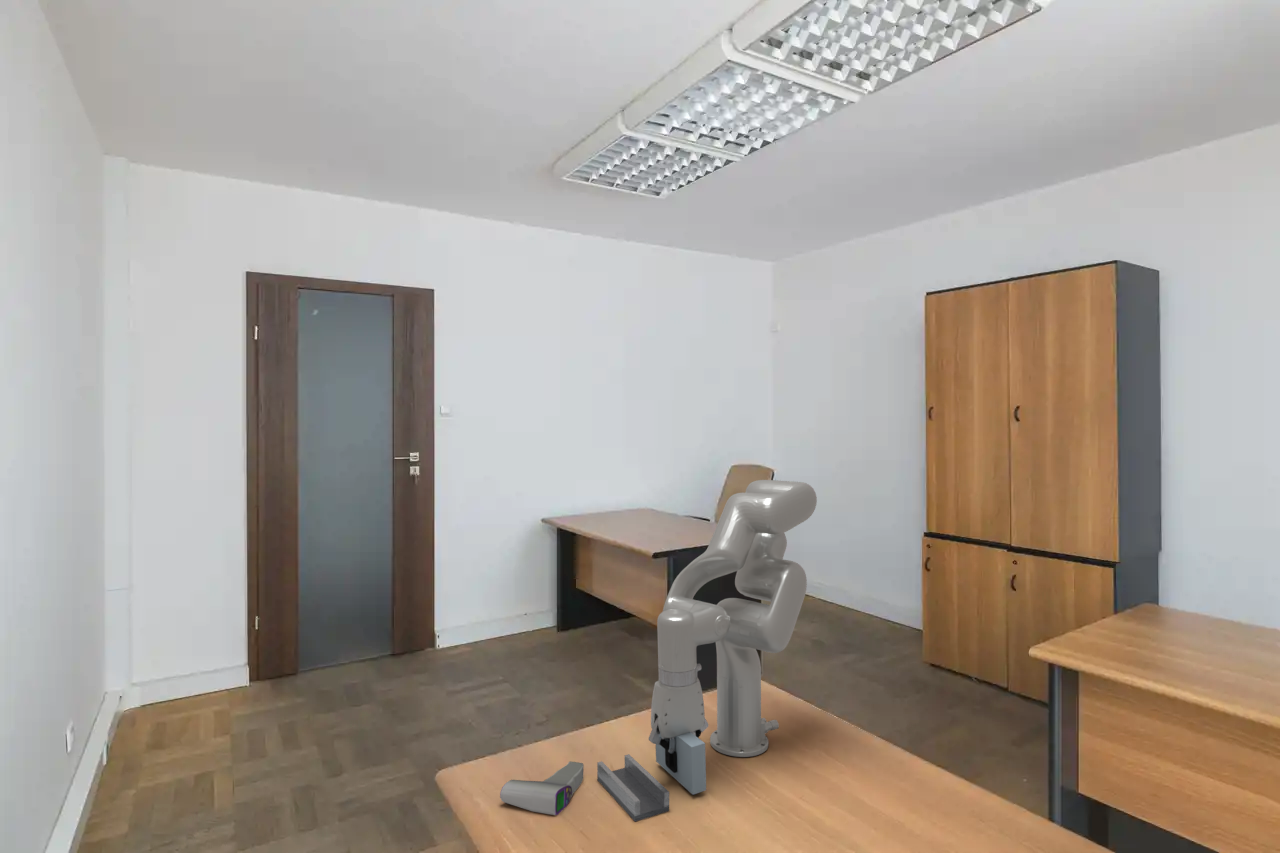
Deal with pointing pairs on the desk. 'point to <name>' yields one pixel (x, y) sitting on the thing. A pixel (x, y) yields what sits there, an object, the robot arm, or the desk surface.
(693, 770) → the grey slab
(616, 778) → the track
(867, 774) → the desk surface
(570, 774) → the infrared thermometer
